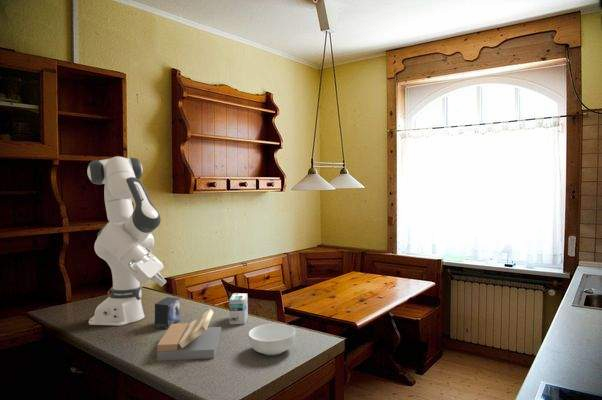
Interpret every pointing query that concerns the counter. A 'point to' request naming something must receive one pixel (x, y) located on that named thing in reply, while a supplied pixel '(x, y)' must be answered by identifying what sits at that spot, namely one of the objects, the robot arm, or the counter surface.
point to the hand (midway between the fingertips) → (164, 284)
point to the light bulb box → (238, 308)
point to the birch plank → (196, 328)
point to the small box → (167, 312)
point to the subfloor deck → (195, 349)
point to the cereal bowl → (272, 338)
